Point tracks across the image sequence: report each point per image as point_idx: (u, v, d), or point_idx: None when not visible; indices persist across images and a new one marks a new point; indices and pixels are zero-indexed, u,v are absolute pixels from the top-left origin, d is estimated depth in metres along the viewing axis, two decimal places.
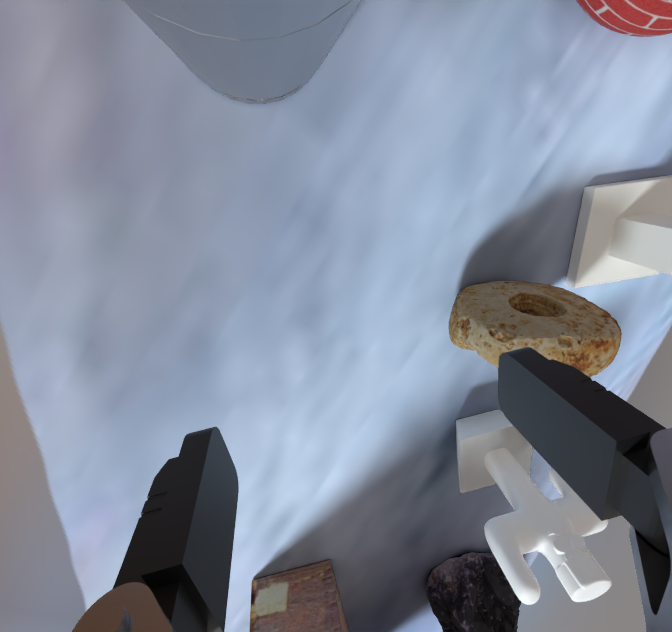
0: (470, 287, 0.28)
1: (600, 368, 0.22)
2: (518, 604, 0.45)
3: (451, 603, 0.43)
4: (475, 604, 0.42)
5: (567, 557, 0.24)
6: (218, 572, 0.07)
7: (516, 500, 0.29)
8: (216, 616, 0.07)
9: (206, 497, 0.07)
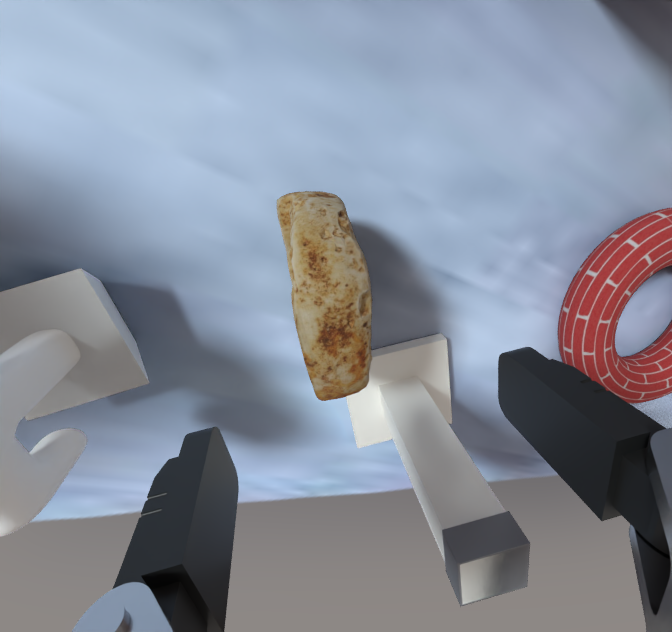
0: None
1: (321, 377, 0.15)
2: None
3: None
4: None
5: None
6: (218, 572, 0.07)
7: None
8: (216, 617, 0.07)
9: (206, 497, 0.07)
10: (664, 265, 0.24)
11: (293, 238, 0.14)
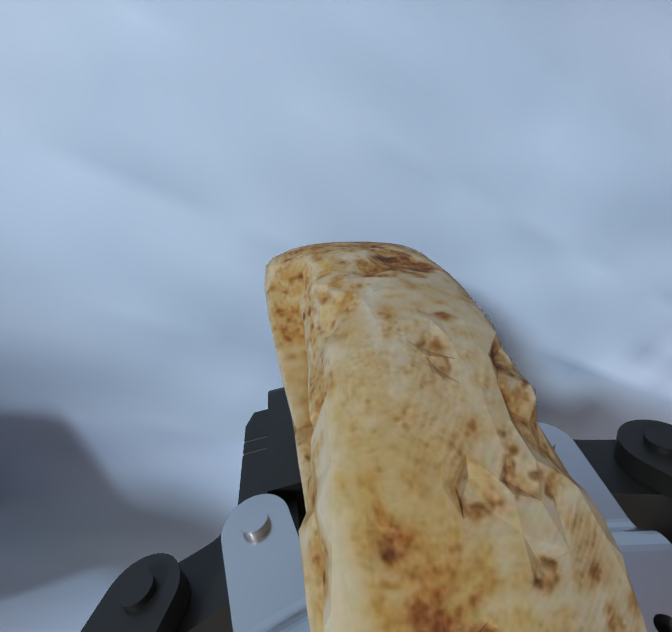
0: None
1: None
2: None
3: None
4: None
5: None
6: None
7: None
8: None
9: None
10: None
11: (330, 501, 0.03)
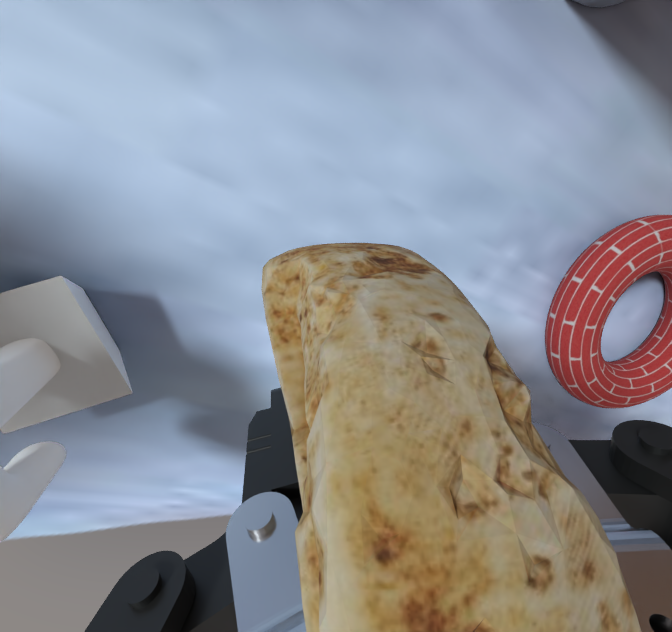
0: None
1: None
2: None
3: None
4: None
5: None
6: None
7: None
8: None
9: None
10: (647, 271, 0.24)
11: (326, 502, 0.03)
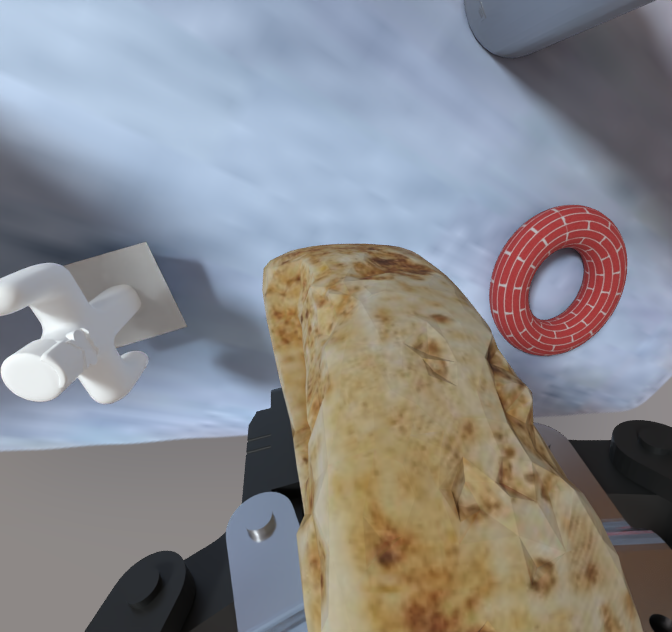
0: None
1: None
2: None
3: None
4: None
5: (70, 343, 0.19)
6: None
7: (96, 305, 0.23)
8: None
9: None
10: (558, 246, 0.33)
11: (328, 504, 0.03)
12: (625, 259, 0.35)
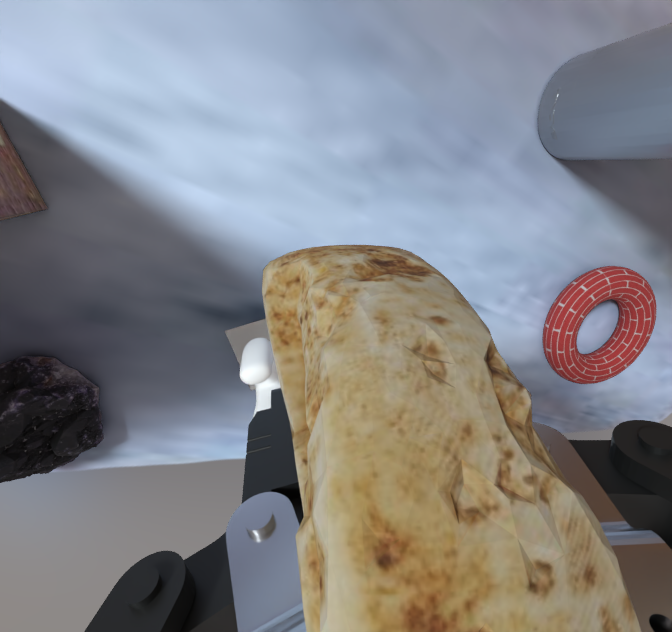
0: None
1: None
2: (44, 468, 0.36)
3: (30, 385, 0.33)
4: (46, 410, 0.33)
5: None
6: None
7: None
8: None
9: None
10: (602, 300, 0.41)
11: (326, 506, 0.03)
12: (655, 308, 0.43)
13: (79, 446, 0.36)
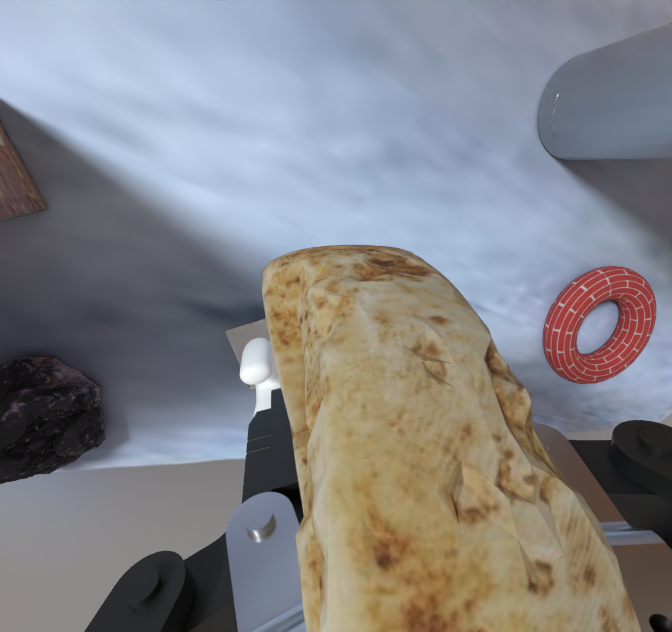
0: None
1: None
2: (46, 469, 0.36)
3: (32, 386, 0.33)
4: (48, 410, 0.33)
5: None
6: None
7: None
8: None
9: None
10: (602, 300, 0.41)
11: (326, 506, 0.03)
12: (655, 308, 0.43)
13: (81, 446, 0.36)
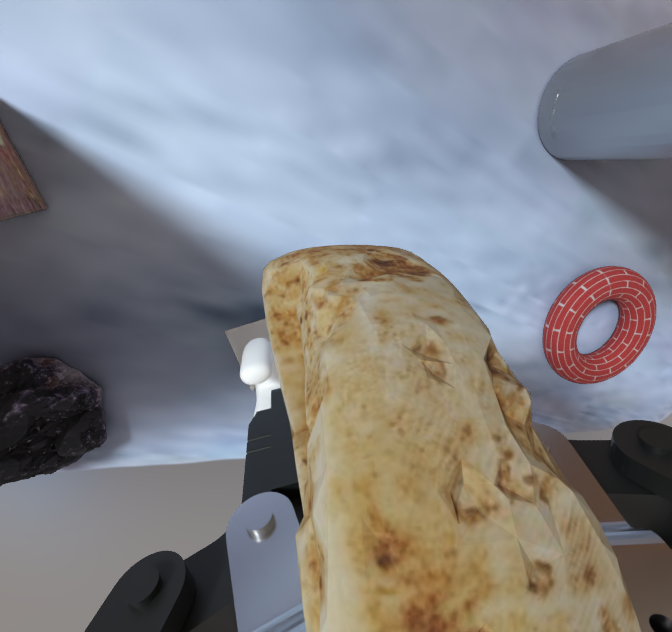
0: None
1: None
2: (48, 469, 0.36)
3: (33, 386, 0.33)
4: (50, 411, 0.33)
5: None
6: None
7: None
8: None
9: None
10: (602, 300, 0.41)
11: (326, 506, 0.03)
12: (655, 308, 0.43)
13: (83, 447, 0.36)
